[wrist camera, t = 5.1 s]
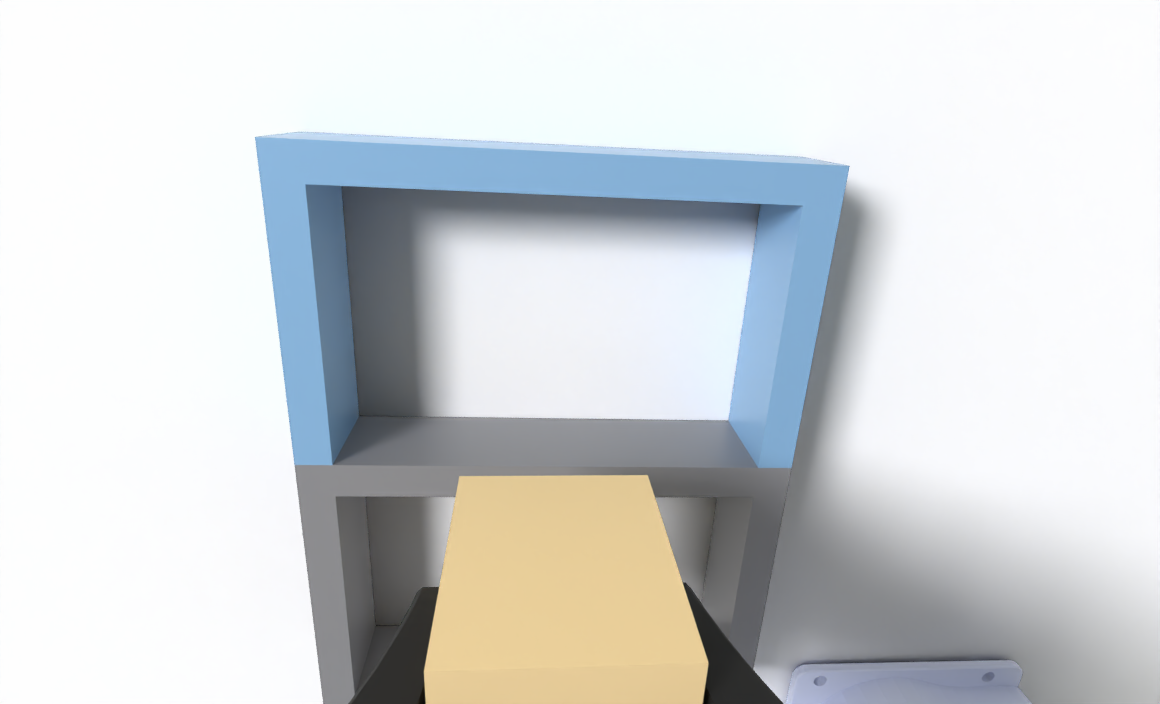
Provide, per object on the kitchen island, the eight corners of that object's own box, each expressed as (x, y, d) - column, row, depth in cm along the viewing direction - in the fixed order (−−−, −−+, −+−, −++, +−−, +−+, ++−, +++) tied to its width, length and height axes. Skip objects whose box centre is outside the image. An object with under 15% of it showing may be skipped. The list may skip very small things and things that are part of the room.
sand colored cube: (647, 474, 14) (708, 663, 9) (631, 653, 16) (675, 885, 11) (459, 476, 14) (423, 671, 9) (464, 658, 15) (437, 900, 11)
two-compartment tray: (801, 157, 19) (849, 166, 16) (721, 641, 25) (745, 708, 22) (299, 131, 17) (255, 136, 15) (349, 647, 24) (325, 720, 21)
